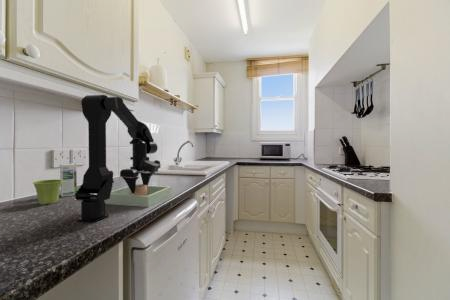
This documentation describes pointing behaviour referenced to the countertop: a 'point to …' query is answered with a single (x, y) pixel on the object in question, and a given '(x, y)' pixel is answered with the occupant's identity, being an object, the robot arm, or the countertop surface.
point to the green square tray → (139, 196)
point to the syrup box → (68, 179)
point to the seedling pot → (140, 190)
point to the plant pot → (47, 191)
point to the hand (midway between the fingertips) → (139, 190)
